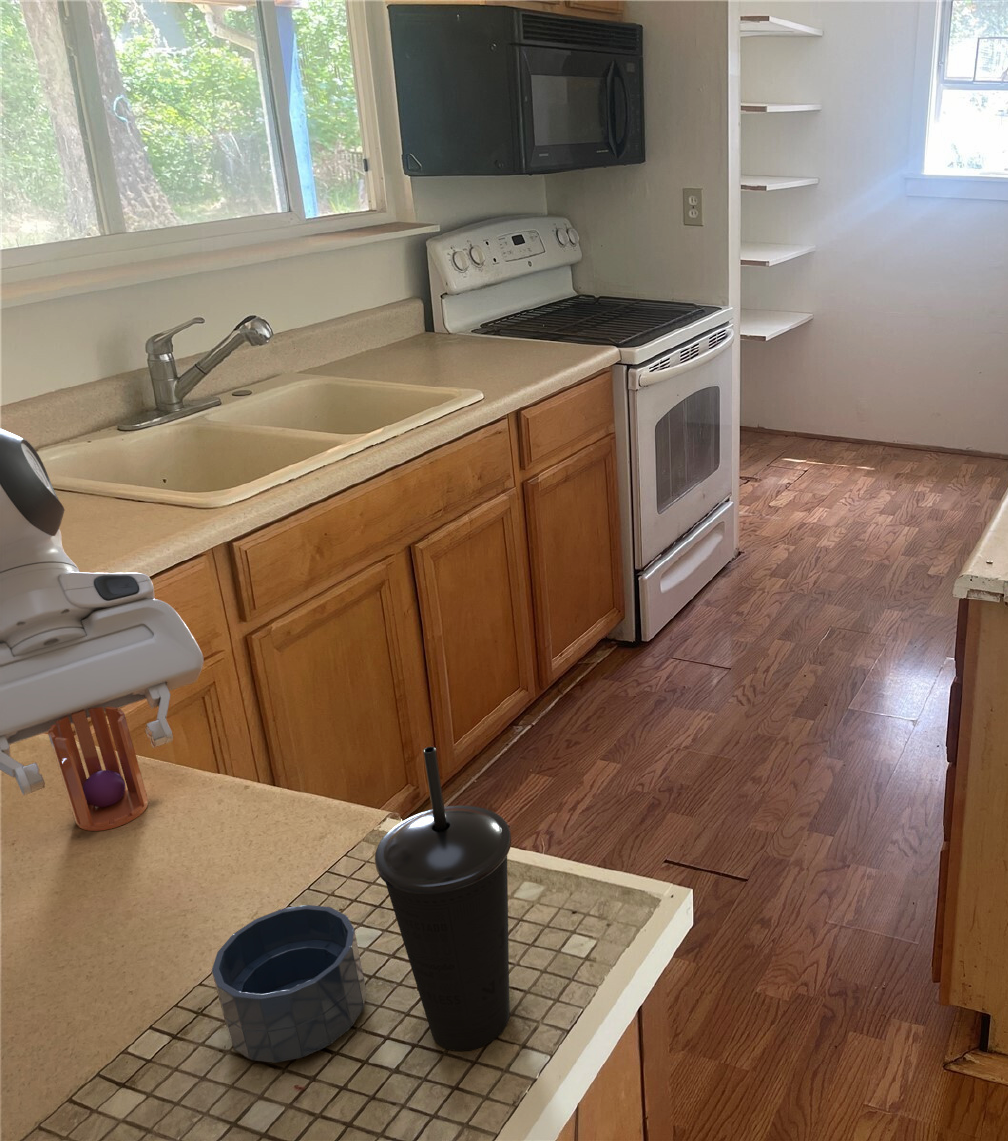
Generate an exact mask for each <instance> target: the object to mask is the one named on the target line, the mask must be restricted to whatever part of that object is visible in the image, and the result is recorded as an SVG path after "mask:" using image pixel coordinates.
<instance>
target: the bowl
mask: <svg viewBox="0 0 1008 1141" xmlns="http://www.w3.org/2000/svg"><path fill="white" fill-rule="evenodd" d="M359 951H360V950H359V946H358V942H357V936H356V930H355V928H354V926H353V924H352V922H351V921H350V919H349V917H348V916H347V915H346V914H345V913H343V912H341V911H338V910H336V909H334V908H333V907H331V906H322V905H315V904H314V905H313V904H312V905H311V904H305V905H298V906H291V907H286V908H285V907H284V908H280V909H278V910H275V911H273V912H270V913H267V914H264V915H262V916H260V917H257V918H255V919H253V920H252V921H250V922H249V923H247V924H245V925H244V926H243V927H242V928H239V929H238V930H237V931H235V932H234V933H233V934H231V935H230V937H229V938H228V939H226V941H225V942H224V944H222V946H221V947H220V948H219V949H218V950H217V952H216V955H215V958H214V962H213V964H212V968H211V974H212V977H213V981H214V982H213V983H214V985H215V989H216V993H217V997H218V1000H219V1004H220V1007H221V1012H222V1016H223V1019H224V1024H225V1027H226V1030H227V1034H228V1036H229V1037H228V1038H229V1039H230V1041H231V1045H232V1048H233V1049H234V1051H236V1052H237V1053H239V1054H240V1055H242V1056H244V1057H245V1058H247V1059H248V1060H249V1061H250V1060H251V1061H256V1062H257V1061H258V1062H264V1063H265V1062H266V1063H273V1064H274V1063H282V1062H288V1061H292V1060H297V1059H303V1058H305V1057H307V1056H309V1055H311V1054H314V1053H316V1052H318V1051H320V1050H322V1049H324V1048H326V1047H328V1046H330V1045H332V1044H333V1043H334V1042H336V1041H338V1039H339V1038H340V1037H342V1036H343V1035H344V1034H345V1033H346V1032H348V1031H349V1030H350V1029H352V1028H353V1026H354V1024H355V1023H356V1021H357V1019H358V1018H359V1017H360V1014H361V1013H362V1011H363V1010H364V1008H365V1005H366V1004H365V1003H366V996H367V995H366V994H367V986H366V982H365V977H364V971H363V966H362V962H361V955H360V952H359Z"/></svg>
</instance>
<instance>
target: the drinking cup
mask: <svg viewBox="0 0 1008 1141" xmlns="http://www.w3.org/2000/svg"><path fill="white" fill-rule="evenodd" d="M422 754H423V760H424V766H425V773H426V779H427V784H428V785H427V786H428V790H429V792H428V793H429V798H430V804H431V805H430V806H431V809H429V810H425V811H422V812H419V813H417V814H413V815H412V816H410V817H408V818H406V819H404V820H403V821H401V822H399V823H398V824H396V825H395V826H393V827H392V828H391V829H390V830H389V831H387V833H386V834H385V835H384V836H383V837H382V839H380V841H379V843H378V845H377V846H376V850H375V853H374V865H375V869H376V873H377V875H378V876H379V877H380V879H381V880H382V881H383V882H384V883H385V887H386V889H387V893H388V896H389V899H390V903H391V906H392V908H393V913H394V915H395V918H396V922H397V925H398V930H399V932H400V934H401V938H402V942H403V945H404V949H405V951H406V955H407V958H408V961H409V965H410V968H411V971H412V974H413V975H412V976H413V978H414V981H415V985H416V988H417V991H418V994H419V998H420V1001H421V1004H422V1007H423V1011H424V1014H425V1017H426V1021H427V1024H428V1027H429V1031H430V1034H431V1037H432V1038H433V1040H434V1042H436V1044H437V1045H438V1046H440V1047H442V1048H444V1049H446V1050H448V1051H452V1052H453V1051H454V1052H468V1051H472V1050H476V1049H480V1048H482V1047H485V1046H486V1045H489V1044H490V1043H492V1042H493V1041H495V1040H496V1039H497V1038H498V1037H500V1035H501V1034H502V1033H503V1032H504V1030H505V1029H506V1027H507V1025H508V1023H509V1020H510V961H509V960H510V956H509V955H510V953H509V951H510V950H509V887H508V886H509V883H508V882H509V881H508V877H509V876H508V854H509V853H510V850H511V846H512V832H511V829H510V826H509V824H508V823H507V822H506V820H505V819H504V818H503V816H500V814H498V813H497V812H494V811H492V810H490V809H487V808H484V807H481V806H480V807H479V806H475V805H460V804H459V805H447V806H445V802H444V796H443V789H442V781H441V775H440V769H439V768H440V767H439V761H438V755H437V749H436V747H434V746H427V747H425V748H424V749H423V751H422Z"/></svg>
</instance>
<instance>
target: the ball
mask: <svg viewBox="0 0 1008 1141" xmlns="http://www.w3.org/2000/svg"><path fill="white" fill-rule="evenodd" d="M125 787H126V781H125V778H122V777H121V775H119V774H118V773H116V772H114V771H110V770H106V769H104V770H103V769H102V771H98V772H96V773H94V774H92V775H91V776H90V777H89V776H88V777H87V780H86V781H85V783H84V786H83V791H84V795H85V798H86V801H87V802H88V803H90V804H91V805H93V806H96V807H108V806H111V805H113V804H115V803H116V802H118V801H119V800H120V799H121V798H122V796H123V794H124V792H125Z"/></svg>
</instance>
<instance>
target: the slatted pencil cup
mask: <svg viewBox="0 0 1008 1141" xmlns="http://www.w3.org/2000/svg"><path fill="white" fill-rule="evenodd" d="M105 710H106V713H104V709H103V707H95V708H89V714H90V717H91V718H90V720H91V724H92V727H93V730H94V735H95V738H96V742H97V744H98V748H99V750H100V755H101V758H102V762H103V765H104V770H110V771H114V772H116V773H118V774H119V775H121V777H122V778H123V777H124V778H123V779H124V782H125V792H124V794H123V796H122V798H121V799H120V800H119V801H118V802H116V803H115V804H113V805H111V806H108V807H96V806H93V805H91V804H90V803H88V802H87V801H86V798H85V795H84V791H83V786H84V783H85V781H86V780H87V779H88V778H89V777H90V776H91V775H92V774H94V773H96V772H98V771H102V770H103V768H102V764H101V761H100V758H99V753H98V750H97V747H96V744H95V740H94V737H93V734H92V730H91V726H90V723H89V718H88V719H87V716H86V712H85V710H81V711H78V712H75V713H71V714H70V715H71V718H72V721H73V724H70V721H69V717H68V716H65V717H63V718H61V719H60V720H58V721H56V722H55V723H56V724H54V725H52V726H51V727H50V729H49V730H48V732H47V734H48V738H49V741H50V744H51V745H50V746H51V748H52V752H53V754H54V757H55V761H56V763H57V764H56V765H57V767H58V771H59V773H60V777H61V780H62V784H63V786H64V789H65V790H64V791H65V793H66V796H67V800H68V803H69V806H70V810H71V813H72V815H73V819H74V821H75V822H76V823H75V824H76V826H77V827H78V828H80V829H82V830H85V831H90V832H97V831H105V830H111V829H115V828H118V827H121V826H124V825H126V824H128V823H130V822H132V821H134V820H136V819H137V818H138V817H140V816H141V815H142V814H143V813H144V812H145V810H147V808H148V804H149V801H148V795H147V791H146V787H145V783H144V780H143V776H142V772H141V770H140V765H139V762H138V758H137V755H136V750H135V747H134V743H133V740H132V736H131V732H130V729H129V725H128V722H127V717H126V714H125V712H124V711H123V710H122V709H121V708H115V707H106V708H105ZM107 720H108V721H107ZM72 725H73V727H74V731H75V735H76V738H75V735H74V731H73V728H72ZM76 739H77V741H78V744H77V741H76ZM78 745H79V748H80V751H81V755H82V758H83V760H82V758H81V755H80V751H79V748H78ZM83 762H84V764H85V768H84V764H83ZM85 769H86V771H85ZM86 772H87V775H86ZM87 776H88V777H87Z"/></svg>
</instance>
